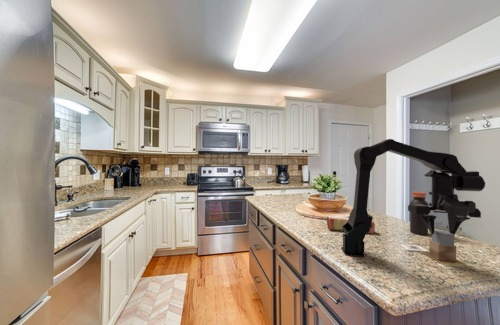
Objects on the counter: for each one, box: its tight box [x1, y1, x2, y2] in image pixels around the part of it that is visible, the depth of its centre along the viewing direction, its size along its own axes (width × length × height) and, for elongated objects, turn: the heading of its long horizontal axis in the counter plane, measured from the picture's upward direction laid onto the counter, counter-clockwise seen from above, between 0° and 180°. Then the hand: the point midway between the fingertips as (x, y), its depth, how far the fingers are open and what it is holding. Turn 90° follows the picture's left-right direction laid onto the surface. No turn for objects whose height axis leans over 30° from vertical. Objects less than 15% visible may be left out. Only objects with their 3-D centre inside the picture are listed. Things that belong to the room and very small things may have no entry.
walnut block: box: [428, 239, 457, 261], centre depth 71 cm, size 5×5×5 cm
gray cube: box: [431, 229, 455, 247], centre depth 71 cm, size 4×4×4 cm
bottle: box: [409, 191, 429, 236], centre depth 99 cm, size 7×7×20 cm
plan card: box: [399, 243, 429, 253], centre depth 80 cm, size 7×5×1 cm
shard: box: [418, 250, 466, 267], centre depth 72 cm, size 11×8×2 cm
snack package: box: [326, 215, 376, 235], centre depth 102 cm, size 21×7×7 cm, turn 76°
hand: (442, 234), depth 71 cm, fingers open, 6 cm apart
